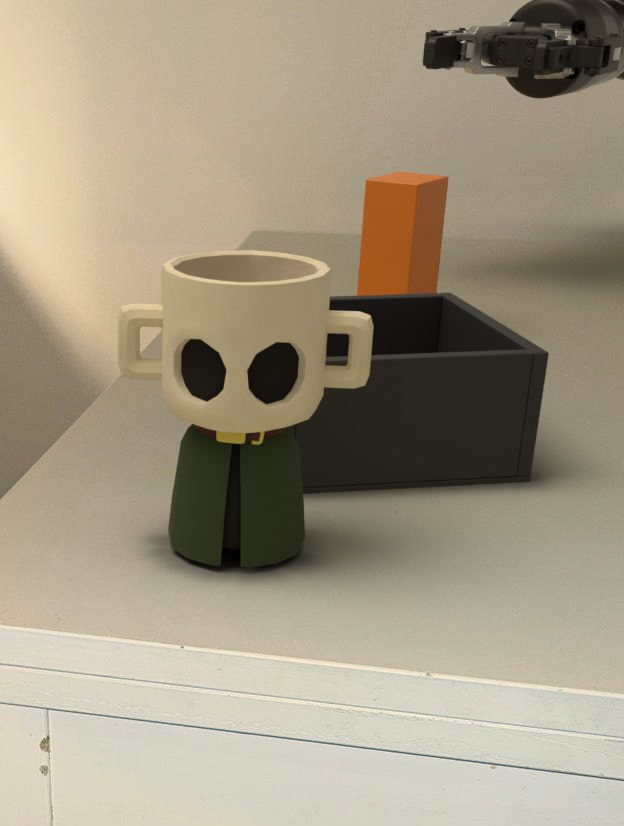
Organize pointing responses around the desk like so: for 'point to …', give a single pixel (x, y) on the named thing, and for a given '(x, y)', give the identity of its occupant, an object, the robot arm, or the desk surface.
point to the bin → (426, 401)
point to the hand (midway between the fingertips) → (483, 56)
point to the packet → (402, 233)
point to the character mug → (242, 391)
